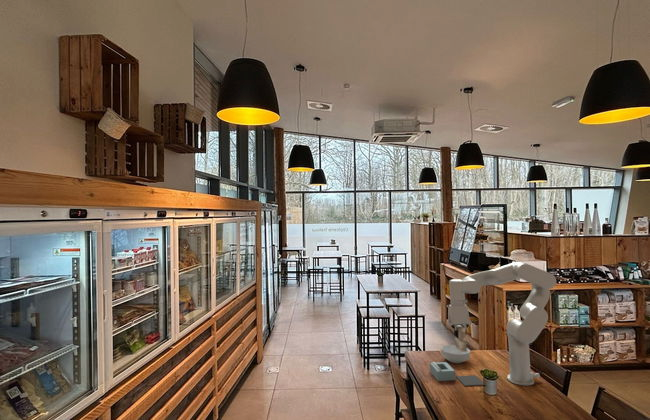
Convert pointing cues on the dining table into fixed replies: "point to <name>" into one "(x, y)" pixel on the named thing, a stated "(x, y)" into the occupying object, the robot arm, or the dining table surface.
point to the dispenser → (442, 371)
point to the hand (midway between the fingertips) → (460, 336)
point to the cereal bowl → (454, 354)
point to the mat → (470, 380)
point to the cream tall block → (461, 339)
